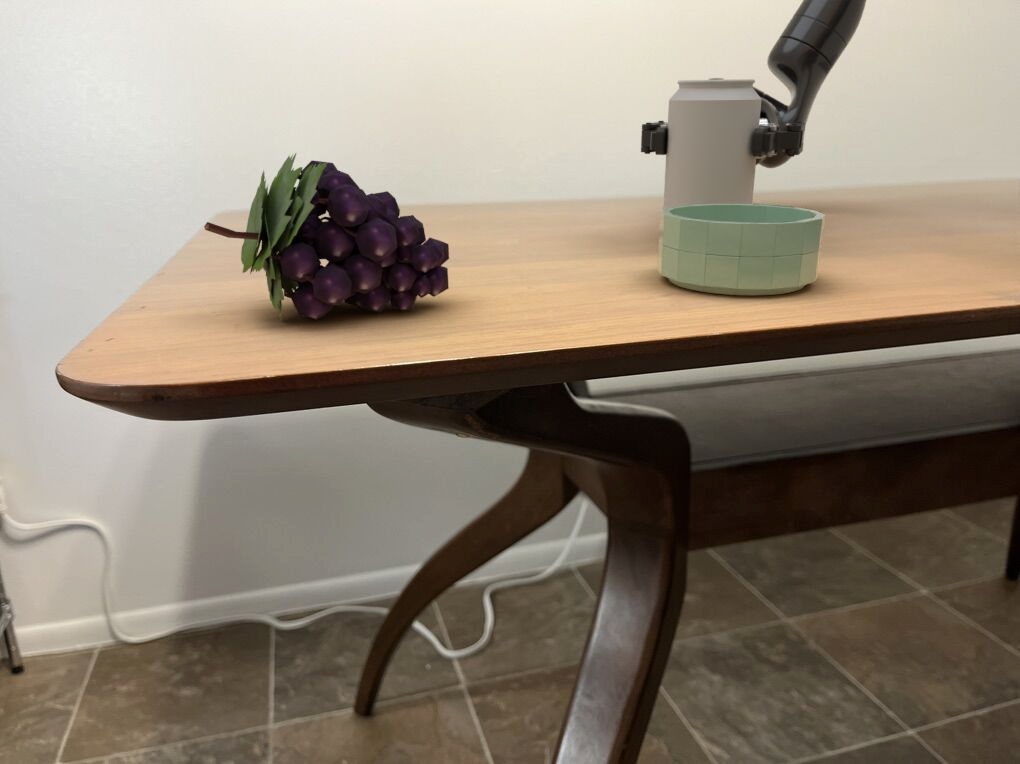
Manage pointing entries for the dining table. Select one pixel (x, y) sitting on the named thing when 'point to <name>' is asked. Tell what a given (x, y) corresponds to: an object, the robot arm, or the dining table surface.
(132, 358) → the dining table surface
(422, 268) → the fruit
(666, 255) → the bowl
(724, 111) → the can
